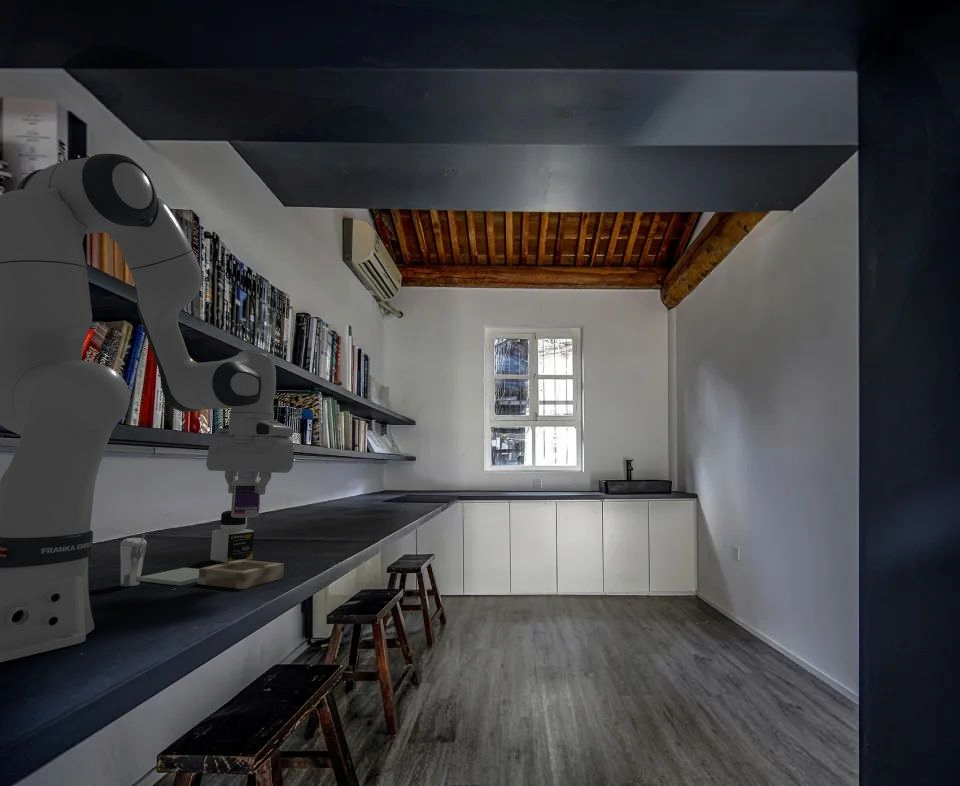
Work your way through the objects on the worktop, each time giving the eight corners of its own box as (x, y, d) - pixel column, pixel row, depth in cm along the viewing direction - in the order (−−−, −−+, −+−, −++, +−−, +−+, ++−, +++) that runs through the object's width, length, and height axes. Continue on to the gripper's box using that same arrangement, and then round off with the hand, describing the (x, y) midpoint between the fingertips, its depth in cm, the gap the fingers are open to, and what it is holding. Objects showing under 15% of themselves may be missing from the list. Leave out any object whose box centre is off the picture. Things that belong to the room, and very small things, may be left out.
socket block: (243, 589, 110) (244, 572, 110) (198, 583, 114) (199, 567, 114) (283, 578, 121) (284, 562, 121) (240, 573, 125) (241, 558, 125)
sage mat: (180, 585, 112) (180, 581, 112) (139, 580, 116) (139, 576, 116) (222, 575, 122) (223, 571, 122) (184, 571, 126) (184, 567, 126)
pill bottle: (263, 517, 119) (267, 470, 120) (239, 518, 115) (243, 470, 116) (249, 515, 122) (252, 469, 124) (225, 516, 118) (229, 469, 119)
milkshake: (128, 588, 109) (132, 535, 110) (111, 585, 111) (116, 533, 112) (151, 584, 113) (155, 533, 114) (134, 581, 115) (138, 531, 116)
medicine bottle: (227, 563, 136) (230, 512, 137) (209, 560, 140) (213, 510, 141) (253, 559, 142) (256, 510, 143) (235, 556, 146) (238, 508, 147)
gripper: (201, 427, 122) (196, 492, 120) (279, 426, 114) (275, 496, 113) (224, 429, 127) (219, 491, 126) (299, 429, 120) (295, 495, 119)
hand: (246, 493), depth 119 cm, fingers closed on pill bottle, 5 cm apart
